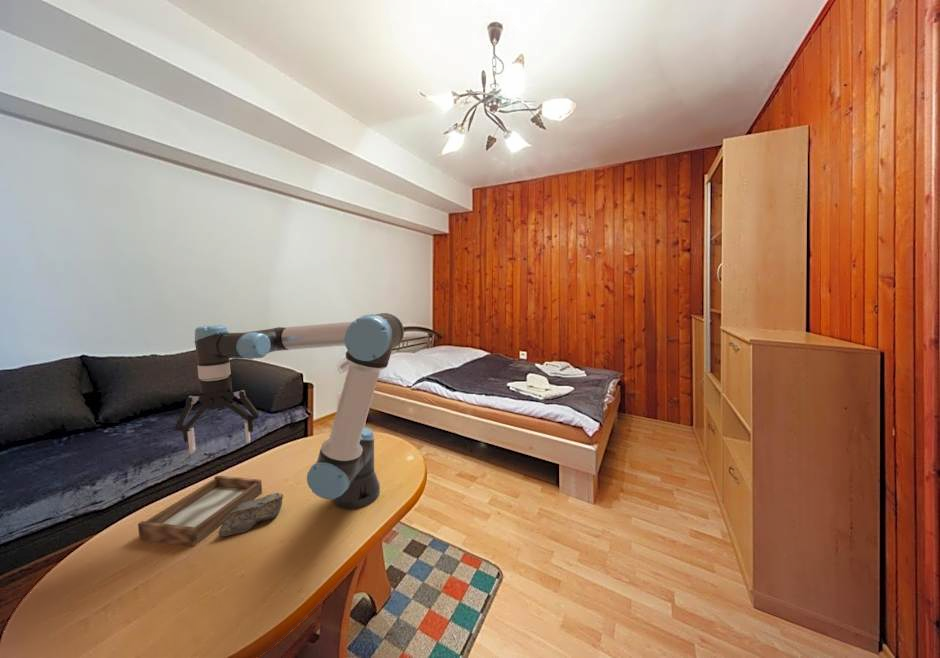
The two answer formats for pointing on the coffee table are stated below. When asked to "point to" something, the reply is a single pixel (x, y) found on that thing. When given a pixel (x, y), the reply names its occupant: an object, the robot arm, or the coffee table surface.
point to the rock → (251, 514)
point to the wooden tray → (199, 511)
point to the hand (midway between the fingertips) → (221, 446)
